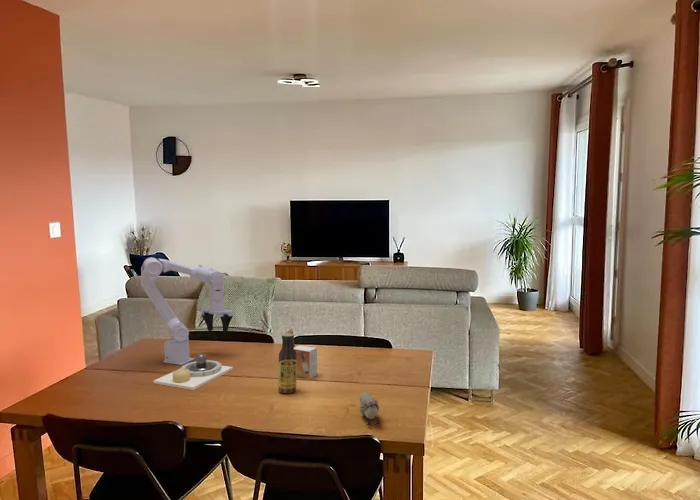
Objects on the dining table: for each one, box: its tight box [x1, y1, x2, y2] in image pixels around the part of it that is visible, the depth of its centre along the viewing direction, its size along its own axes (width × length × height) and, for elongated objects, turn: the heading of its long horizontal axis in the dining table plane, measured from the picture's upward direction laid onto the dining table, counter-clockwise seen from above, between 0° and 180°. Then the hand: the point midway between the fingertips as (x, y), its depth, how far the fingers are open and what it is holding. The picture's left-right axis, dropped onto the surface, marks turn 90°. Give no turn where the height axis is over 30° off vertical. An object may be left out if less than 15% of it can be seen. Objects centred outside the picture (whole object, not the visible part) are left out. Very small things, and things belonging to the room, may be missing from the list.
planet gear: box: [188, 353, 215, 372], centre depth 204 cm, size 10×10×6 cm
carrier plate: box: [152, 359, 234, 391], centre depth 200 cm, size 18×23×4 cm
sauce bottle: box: [277, 332, 298, 394], centre depth 183 cm, size 6×6×20 cm
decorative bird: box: [359, 391, 382, 428], centre depth 162 cm, size 5×16×8 cm, turn 9°
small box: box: [294, 344, 318, 380], centre depth 199 cm, size 8×6×10 cm
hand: (217, 331), depth 224 cm, fingers open, 7 cm apart
